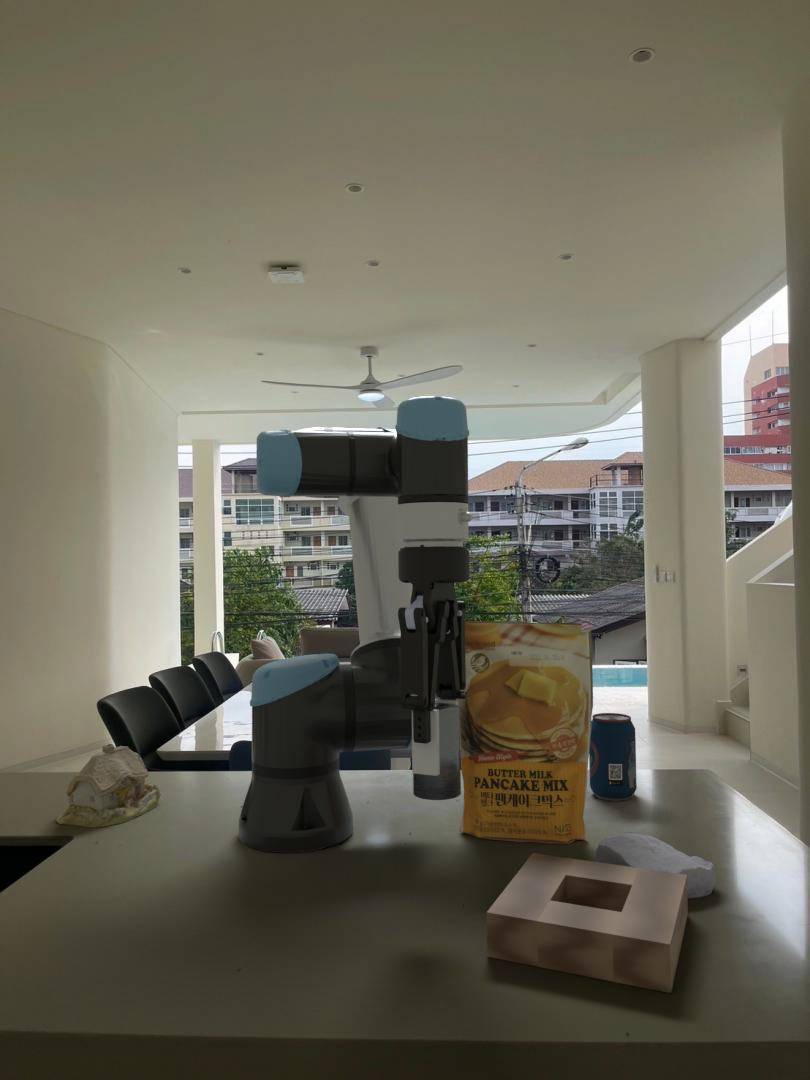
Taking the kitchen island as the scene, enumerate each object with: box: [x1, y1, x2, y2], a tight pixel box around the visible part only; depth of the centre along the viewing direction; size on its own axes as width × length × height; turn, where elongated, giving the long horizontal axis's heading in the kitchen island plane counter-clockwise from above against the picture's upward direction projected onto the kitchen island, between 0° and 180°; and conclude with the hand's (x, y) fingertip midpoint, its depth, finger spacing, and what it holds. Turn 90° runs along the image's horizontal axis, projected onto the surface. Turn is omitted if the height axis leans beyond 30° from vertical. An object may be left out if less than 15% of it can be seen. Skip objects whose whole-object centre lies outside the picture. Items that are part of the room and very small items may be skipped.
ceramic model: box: [56, 743, 162, 828], centre depth 117 cm, size 14×11×10 cm
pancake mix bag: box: [456, 620, 594, 845], centre depth 106 cm, size 7×19×28 cm, turn 78°
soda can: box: [588, 712, 638, 802], centre depth 123 cm, size 7×7×12 cm
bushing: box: [412, 703, 462, 801], centre depth 84 cm, size 5×5×9 cm
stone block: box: [595, 832, 717, 900], centre depth 90 cm, size 12×5×10 cm
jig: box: [486, 852, 689, 994], centre depth 77 cm, size 16×16×4 cm
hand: (436, 766), depth 84 cm, fingers closed on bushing, 5 cm apart
